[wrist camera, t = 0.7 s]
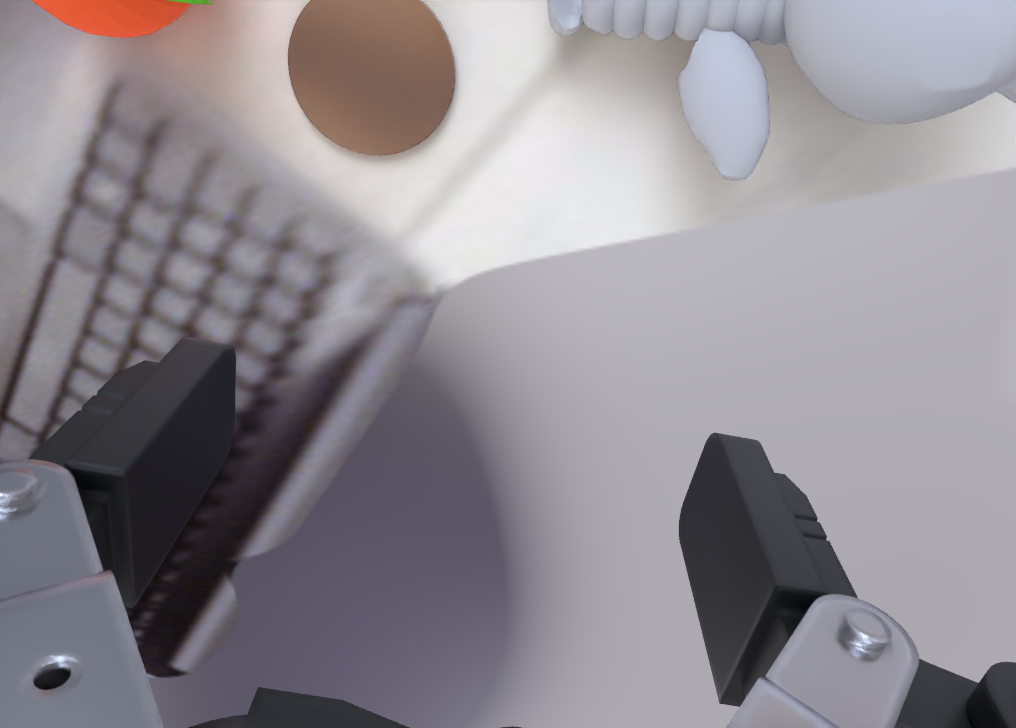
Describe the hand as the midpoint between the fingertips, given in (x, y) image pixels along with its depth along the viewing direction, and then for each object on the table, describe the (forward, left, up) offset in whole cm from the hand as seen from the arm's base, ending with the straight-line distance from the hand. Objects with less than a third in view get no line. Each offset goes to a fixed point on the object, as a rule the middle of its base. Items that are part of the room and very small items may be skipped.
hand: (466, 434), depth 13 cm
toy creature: (-5, +12, -24) cm, 27 cm away
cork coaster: (-3, -6, -23) cm, 24 cm away
